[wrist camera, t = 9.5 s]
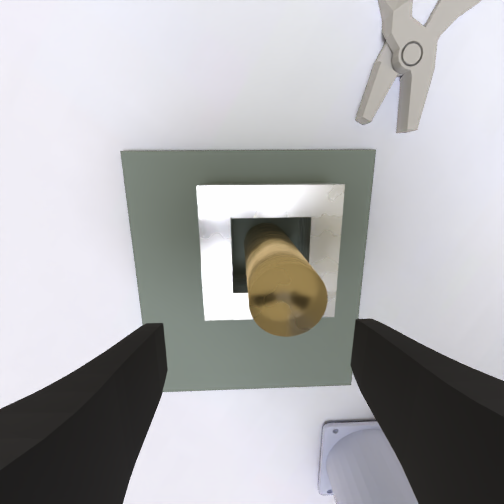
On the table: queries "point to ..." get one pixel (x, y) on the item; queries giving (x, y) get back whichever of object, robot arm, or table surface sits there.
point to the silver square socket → (265, 206)
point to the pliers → (407, 58)
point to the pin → (281, 283)
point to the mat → (240, 266)
